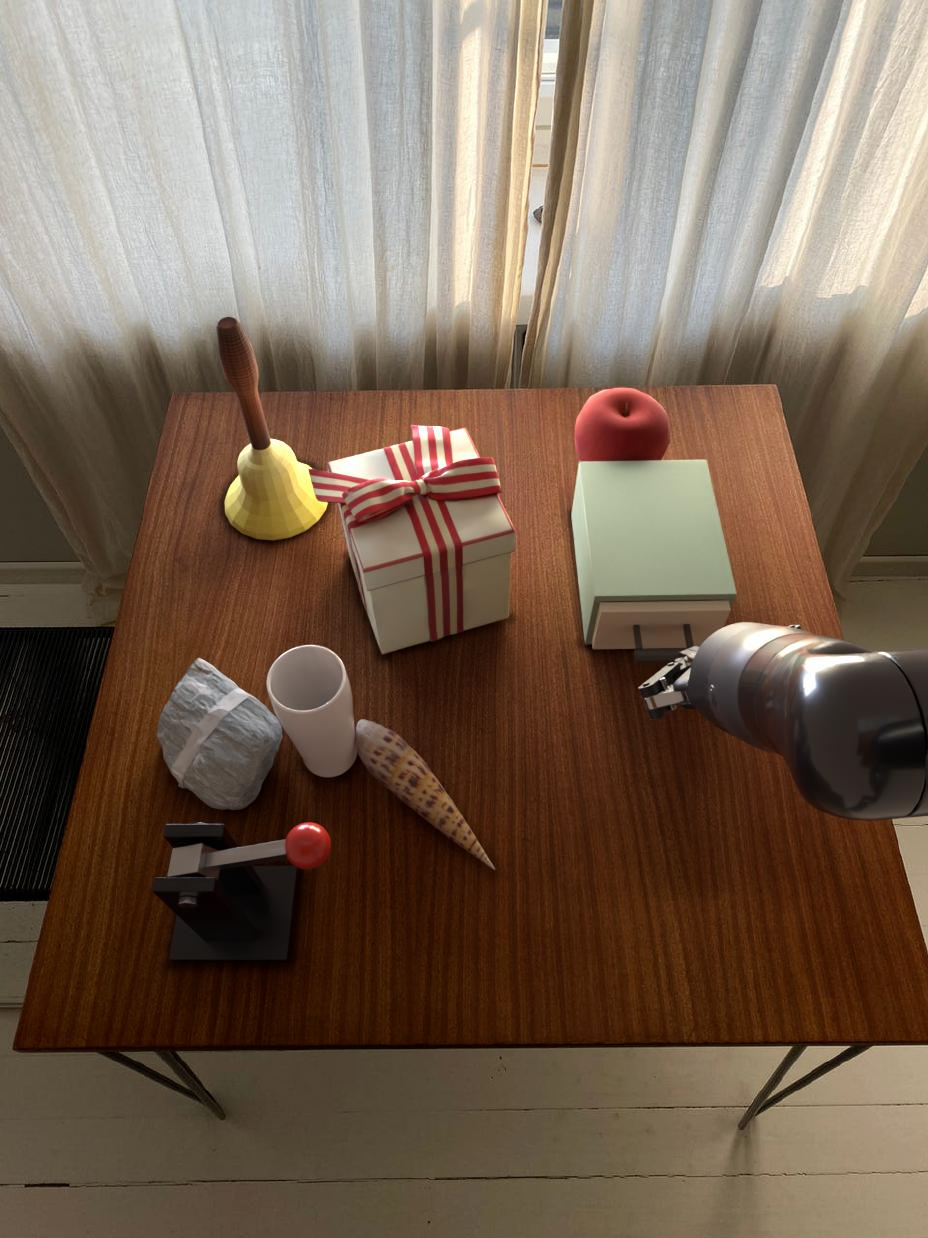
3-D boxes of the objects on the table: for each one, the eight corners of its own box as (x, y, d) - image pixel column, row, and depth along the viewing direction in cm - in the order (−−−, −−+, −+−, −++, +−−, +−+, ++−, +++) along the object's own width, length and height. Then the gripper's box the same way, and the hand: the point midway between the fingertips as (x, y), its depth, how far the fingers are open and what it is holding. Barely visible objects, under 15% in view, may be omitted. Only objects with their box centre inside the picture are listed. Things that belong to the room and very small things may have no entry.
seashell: (381, 725, 87) (376, 701, 82) (509, 858, 79) (511, 839, 75) (346, 753, 85) (339, 730, 81) (473, 892, 77) (473, 874, 73)
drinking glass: (295, 726, 87) (265, 647, 74) (364, 719, 87) (345, 639, 74) (296, 790, 83) (264, 718, 70) (367, 783, 83) (348, 709, 71)
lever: (341, 827, 63) (316, 812, 60) (337, 871, 61) (311, 858, 59) (198, 852, 67) (169, 839, 65) (190, 894, 66) (161, 882, 63)
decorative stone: (307, 751, 85) (296, 724, 80) (232, 832, 81) (216, 808, 76) (213, 681, 89) (198, 650, 84) (137, 754, 85) (116, 726, 80)
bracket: (299, 869, 79) (264, 804, 65) (289, 963, 74) (249, 913, 61) (188, 869, 79) (131, 804, 66) (172, 963, 74) (107, 912, 61)
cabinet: (716, 642, 92) (737, 594, 84) (584, 644, 92) (594, 596, 84) (689, 512, 101) (706, 459, 94) (571, 514, 101) (578, 461, 94)
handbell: (343, 471, 105) (311, 293, 85) (307, 549, 99) (263, 376, 78) (248, 452, 107) (195, 273, 86) (207, 528, 101) (137, 353, 80)
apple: (672, 500, 102) (693, 427, 93) (585, 517, 101) (597, 444, 91) (640, 435, 108) (657, 360, 99) (557, 450, 107) (566, 375, 97)
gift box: (454, 497, 103) (451, 384, 89) (521, 616, 94) (530, 511, 79) (317, 543, 99) (290, 432, 85) (372, 671, 90) (353, 571, 76)
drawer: (721, 683, 88) (739, 647, 82) (596, 685, 88) (605, 649, 82) (689, 523, 99) (702, 482, 93) (578, 525, 99) (585, 483, 93)
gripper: (690, 782, 54) (631, 733, 71) (890, 703, 54) (782, 674, 71) (647, 669, 53) (598, 648, 71) (848, 589, 53) (749, 588, 71)
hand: (690, 661), depth 71 cm, fingers closed
